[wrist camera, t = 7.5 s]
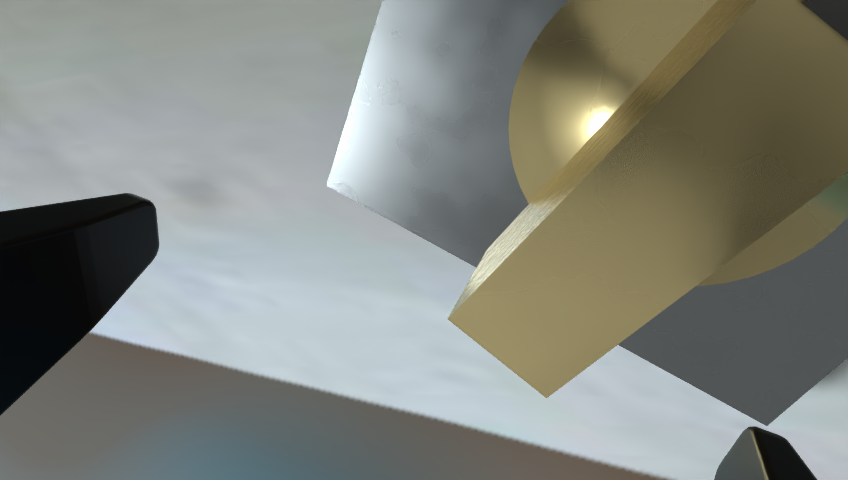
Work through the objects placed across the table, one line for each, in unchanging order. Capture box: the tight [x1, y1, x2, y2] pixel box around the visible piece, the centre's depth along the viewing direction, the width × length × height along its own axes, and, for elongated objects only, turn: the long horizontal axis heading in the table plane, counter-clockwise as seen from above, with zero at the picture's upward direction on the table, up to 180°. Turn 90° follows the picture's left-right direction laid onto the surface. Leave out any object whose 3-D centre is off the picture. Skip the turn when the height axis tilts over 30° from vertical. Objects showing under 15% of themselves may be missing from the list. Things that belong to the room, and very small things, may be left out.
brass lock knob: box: [448, 0, 848, 398], centre depth 11 cm, size 9×6×5 cm
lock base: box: [327, 0, 848, 426], centre depth 15 cm, size 16×16×4 cm
